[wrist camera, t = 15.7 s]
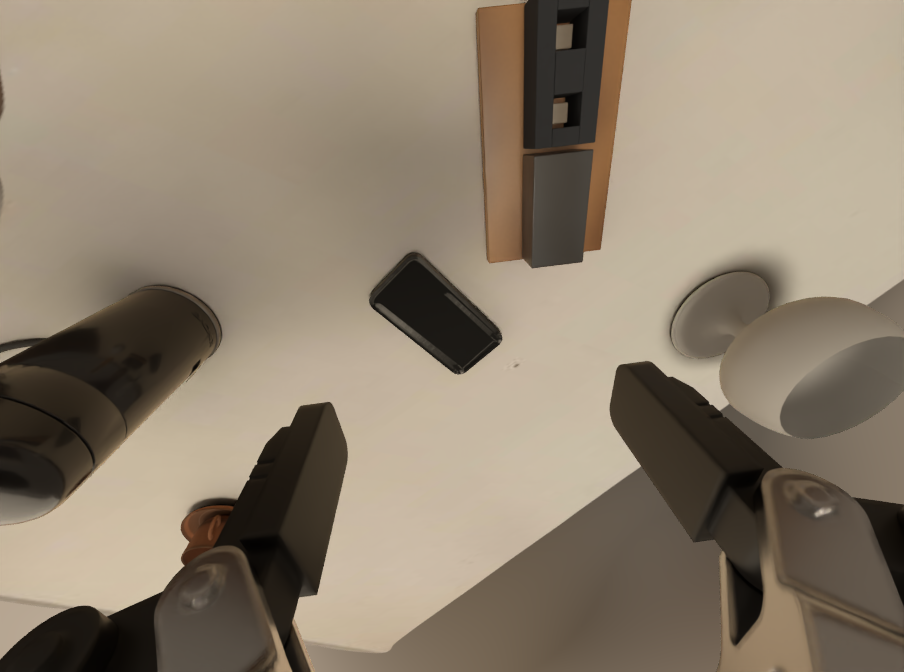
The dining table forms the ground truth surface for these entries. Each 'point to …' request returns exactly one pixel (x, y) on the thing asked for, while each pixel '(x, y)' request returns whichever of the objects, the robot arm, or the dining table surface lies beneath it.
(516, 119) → the back board
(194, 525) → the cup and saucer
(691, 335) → the chalice
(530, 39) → the back pad
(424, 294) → the phone
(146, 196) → the dining table surface
